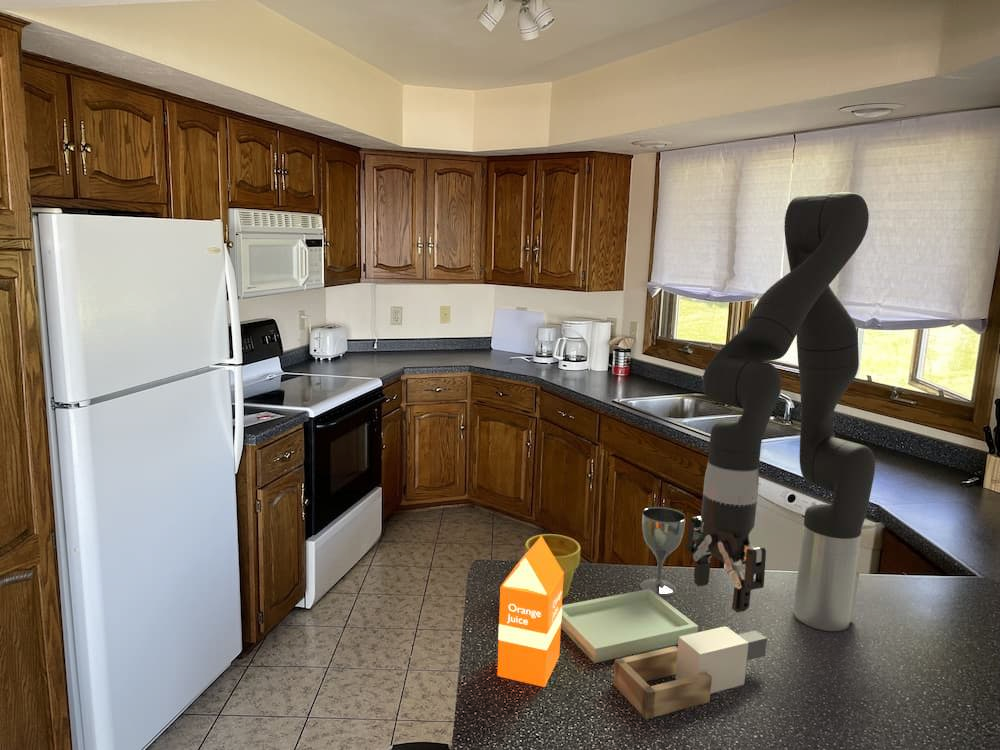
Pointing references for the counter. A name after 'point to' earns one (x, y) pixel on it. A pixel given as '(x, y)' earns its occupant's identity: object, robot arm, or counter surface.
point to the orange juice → (531, 617)
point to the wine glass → (662, 542)
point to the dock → (662, 696)
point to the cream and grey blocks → (718, 655)
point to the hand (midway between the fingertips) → (719, 597)
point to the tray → (624, 624)
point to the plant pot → (561, 555)
